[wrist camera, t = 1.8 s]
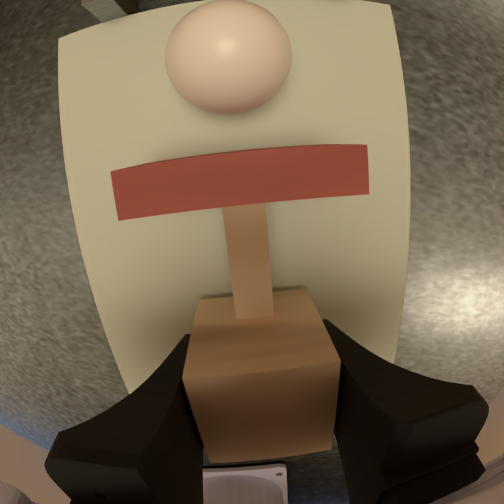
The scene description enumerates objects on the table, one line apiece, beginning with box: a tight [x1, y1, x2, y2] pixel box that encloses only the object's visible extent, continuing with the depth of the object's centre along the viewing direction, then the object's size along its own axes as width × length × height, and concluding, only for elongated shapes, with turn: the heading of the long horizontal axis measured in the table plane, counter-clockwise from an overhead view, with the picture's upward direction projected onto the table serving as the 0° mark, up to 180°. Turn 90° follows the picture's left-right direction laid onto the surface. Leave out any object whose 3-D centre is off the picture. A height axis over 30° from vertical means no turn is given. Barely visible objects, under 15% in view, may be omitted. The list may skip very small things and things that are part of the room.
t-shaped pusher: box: [110, 144, 369, 463], centre depth 9 cm, size 9×6×4 cm, turn 5°
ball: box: [165, 0, 292, 114], centre depth 8 cm, size 4×4×4 cm
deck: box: [58, 0, 410, 394], centre depth 12 cm, size 18×13×2 cm
